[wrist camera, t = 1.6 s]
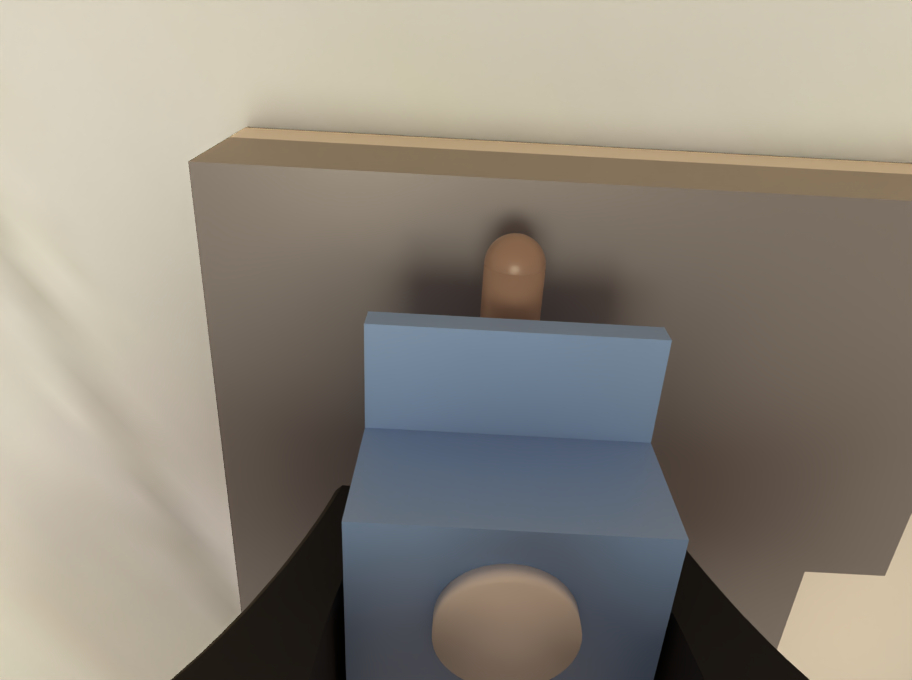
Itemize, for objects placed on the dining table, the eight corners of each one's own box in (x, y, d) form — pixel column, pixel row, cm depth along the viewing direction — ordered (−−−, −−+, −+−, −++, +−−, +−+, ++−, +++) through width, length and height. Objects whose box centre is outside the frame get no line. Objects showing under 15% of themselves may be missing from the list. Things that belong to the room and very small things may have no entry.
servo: (383, 657, 15) (348, 907, 11) (385, 208, 11) (330, 343, 7) (565, 667, 15) (600, 920, 11) (642, 221, 11) (747, 365, 7)
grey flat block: (291, 694, 20) (263, 800, 18) (245, 127, 13) (187, 161, 11) (1046, 734, 21) (1132, 846, 18) (1398, 190, 13) (1631, 239, 11)
